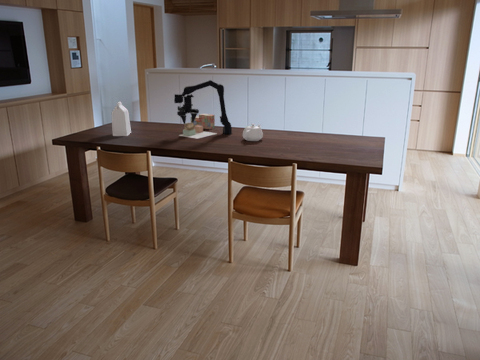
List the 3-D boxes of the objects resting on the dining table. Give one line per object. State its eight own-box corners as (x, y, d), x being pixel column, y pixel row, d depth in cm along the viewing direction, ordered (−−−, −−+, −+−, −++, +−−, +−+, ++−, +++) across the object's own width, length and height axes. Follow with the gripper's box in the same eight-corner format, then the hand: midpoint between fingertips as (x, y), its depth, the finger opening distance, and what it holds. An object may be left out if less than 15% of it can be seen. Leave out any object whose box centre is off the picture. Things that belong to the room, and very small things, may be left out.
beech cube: (193, 129, 328) (193, 123, 327) (189, 130, 325) (188, 124, 323) (189, 128, 331) (188, 122, 330) (184, 129, 327) (184, 123, 326)
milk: (127, 136, 328) (124, 103, 320) (112, 136, 328) (109, 102, 320) (131, 132, 339) (128, 100, 331) (117, 132, 340) (114, 100, 331)
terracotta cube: (203, 132, 339) (202, 125, 338) (198, 133, 335) (198, 126, 334) (198, 131, 342) (198, 125, 341) (194, 132, 338) (194, 126, 337)
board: (217, 134, 333) (217, 133, 333) (197, 139, 315) (197, 138, 315) (199, 131, 345) (199, 130, 345) (178, 136, 327) (178, 135, 327)
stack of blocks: (190, 127, 361) (190, 113, 357) (195, 126, 366) (194, 112, 362) (210, 130, 350) (210, 115, 346) (214, 129, 355) (214, 114, 351)
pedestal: (195, 134, 330) (195, 129, 328) (189, 136, 324) (189, 130, 323) (189, 133, 334) (189, 128, 333) (183, 134, 329) (182, 129, 327)
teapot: (255, 144, 301) (255, 127, 297) (236, 141, 308) (236, 125, 304) (268, 137, 322) (269, 121, 318) (250, 135, 329) (251, 120, 325)
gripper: (188, 101, 333) (189, 120, 338) (171, 103, 319) (172, 123, 324) (199, 102, 327) (199, 121, 331) (182, 104, 313) (182, 125, 317)
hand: (188, 123), depth 326 cm, fingers open, 9 cm apart
